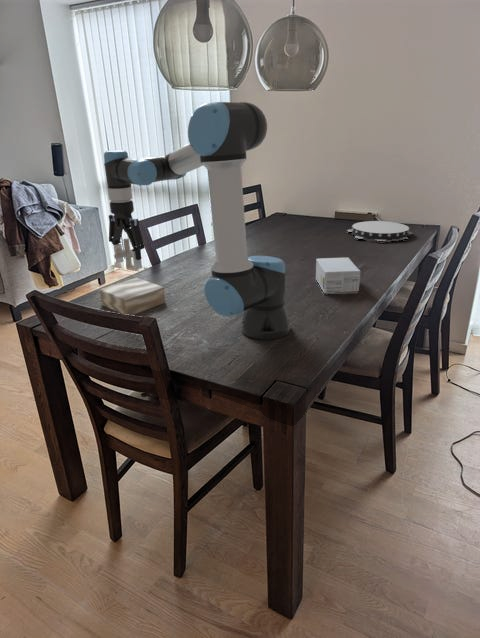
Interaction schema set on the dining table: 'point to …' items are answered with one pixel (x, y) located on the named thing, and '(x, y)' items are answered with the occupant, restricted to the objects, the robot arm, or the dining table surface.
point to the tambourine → (380, 230)
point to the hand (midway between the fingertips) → (128, 265)
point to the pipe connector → (125, 253)
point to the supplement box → (337, 275)
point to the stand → (132, 296)
